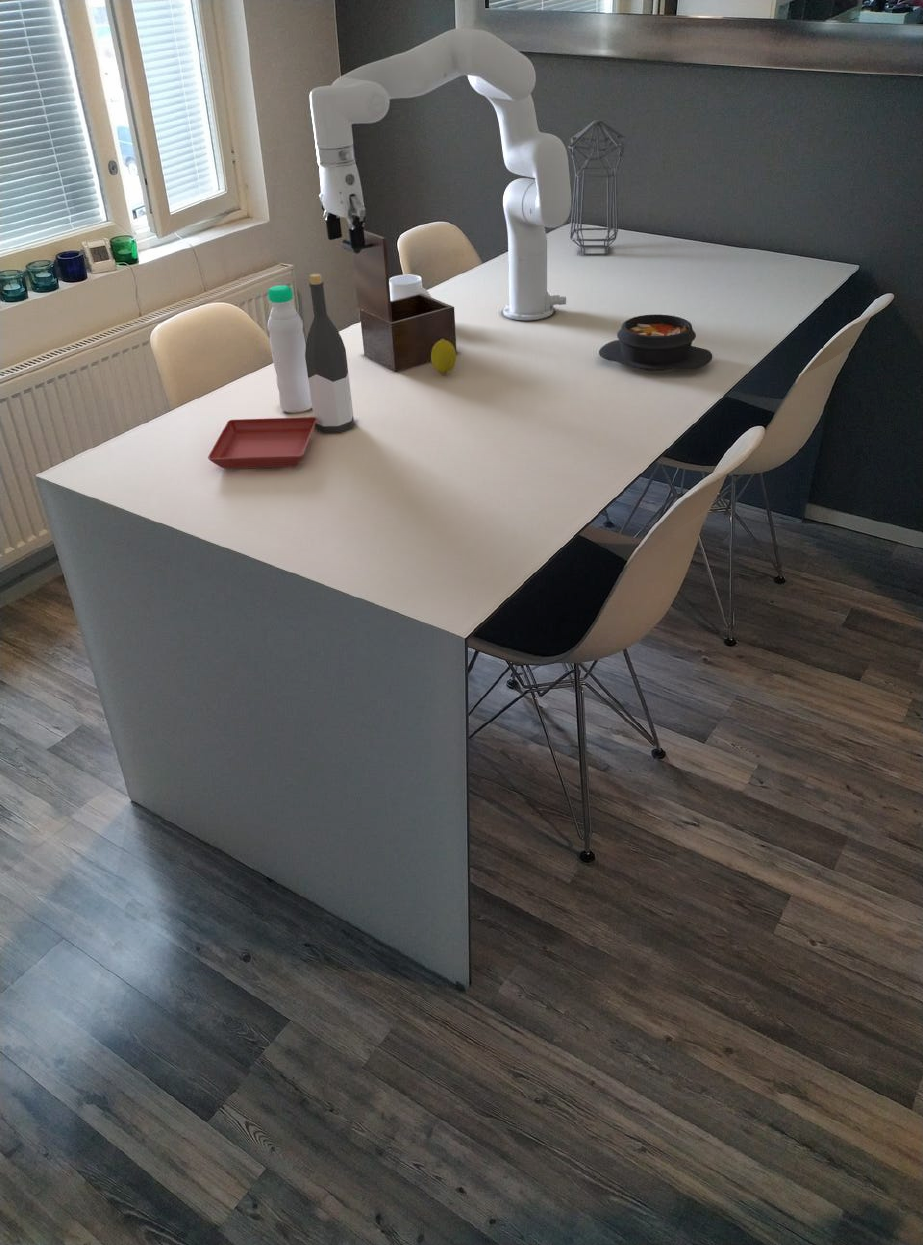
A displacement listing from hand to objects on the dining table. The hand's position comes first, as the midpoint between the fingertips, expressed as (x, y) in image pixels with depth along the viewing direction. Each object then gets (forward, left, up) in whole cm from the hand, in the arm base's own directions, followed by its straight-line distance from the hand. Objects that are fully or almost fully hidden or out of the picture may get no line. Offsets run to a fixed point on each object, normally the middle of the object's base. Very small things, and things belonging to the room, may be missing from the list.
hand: (346, 243), depth 213 cm
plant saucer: (+18, +40, -28) cm, 52 cm away
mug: (-14, -30, -28) cm, 43 cm away
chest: (-12, -7, -28) cm, 31 cm away
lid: (-5, -3, -8) cm, 9 cm away
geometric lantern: (-70, -81, -28) cm, 110 cm away
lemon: (-19, +7, -28) cm, 34 cm away
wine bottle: (+5, +30, -28) cm, 42 cm away
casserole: (-65, +10, -28) cm, 72 cm away
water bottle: (+13, +19, -28) cm, 36 cm away
